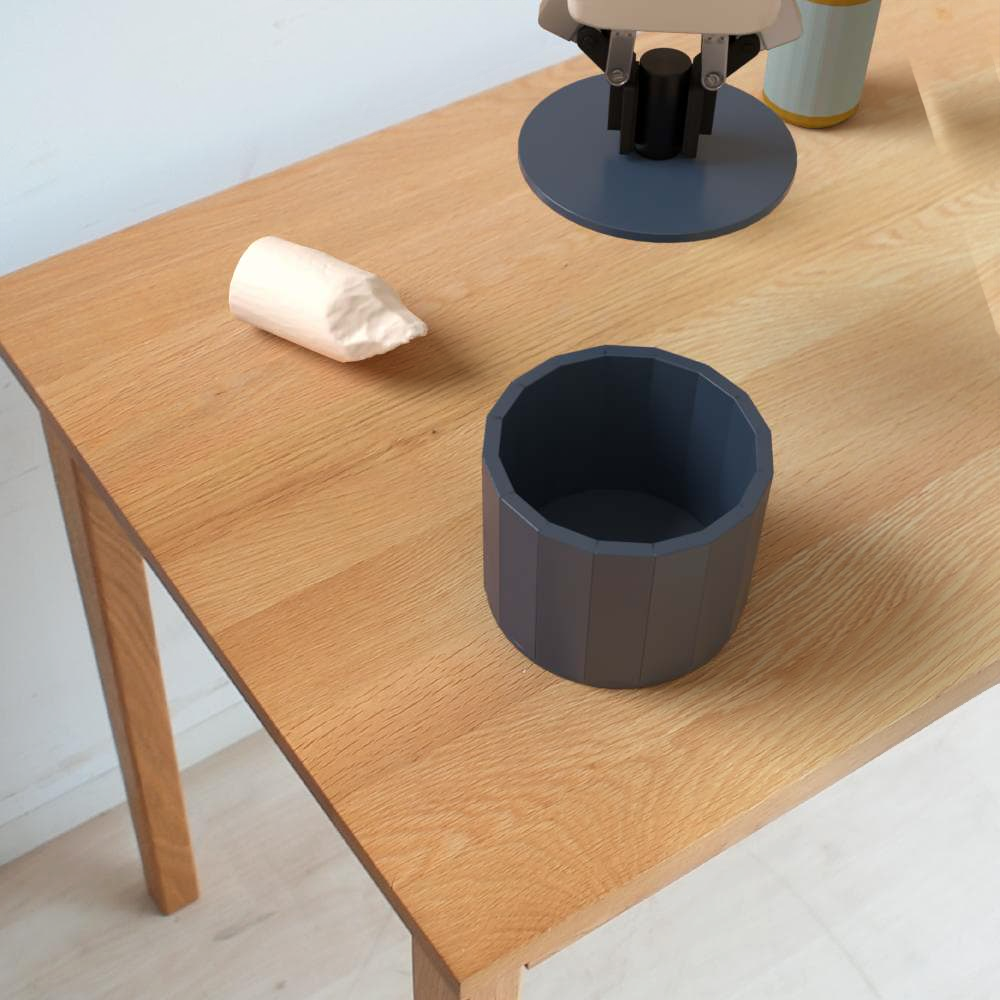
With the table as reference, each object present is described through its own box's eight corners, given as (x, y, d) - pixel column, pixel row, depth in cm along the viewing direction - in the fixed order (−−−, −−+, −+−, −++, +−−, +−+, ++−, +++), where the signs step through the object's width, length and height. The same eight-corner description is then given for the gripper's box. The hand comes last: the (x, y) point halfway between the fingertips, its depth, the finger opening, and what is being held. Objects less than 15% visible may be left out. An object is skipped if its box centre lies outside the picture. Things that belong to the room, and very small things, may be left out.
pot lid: (786, 94, 81) (804, -9, 76) (802, 261, 71) (823, 155, 67) (526, 81, 82) (528, -21, 77) (507, 245, 72) (508, 140, 67)
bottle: (865, 132, 103) (909, -70, 91) (766, 131, 103) (799, -70, 91) (850, 77, 107) (891, -122, 96) (755, 77, 107) (785, -122, 96)
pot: (740, 491, 80) (766, 352, 72) (749, 697, 71) (780, 564, 63) (496, 478, 81) (495, 338, 73) (474, 680, 72) (471, 546, 64)
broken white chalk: (397, 410, 84) (391, 339, 80) (233, 338, 88) (220, 267, 84) (451, 350, 88) (449, 278, 83) (292, 283, 92) (282, 212, 88)
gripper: (878, -254, 64) (809, 107, 77) (511, -267, 64) (508, 93, 78) (895, -178, 59) (818, 193, 72) (498, -193, 59) (497, 176, 73)
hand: (657, 138), depth 75 cm, fingers closed on pot lid, 2 cm apart
